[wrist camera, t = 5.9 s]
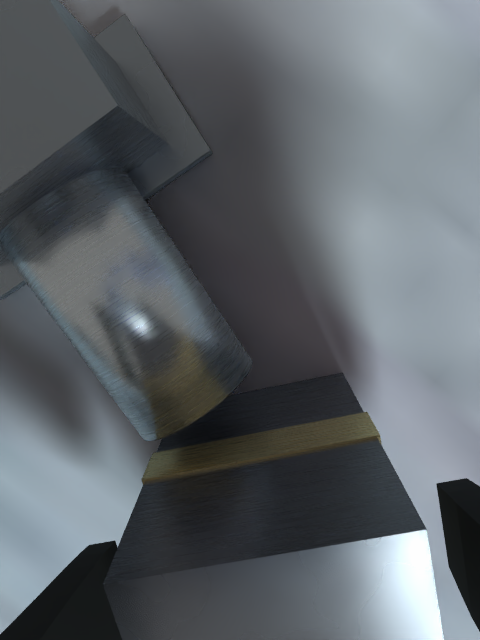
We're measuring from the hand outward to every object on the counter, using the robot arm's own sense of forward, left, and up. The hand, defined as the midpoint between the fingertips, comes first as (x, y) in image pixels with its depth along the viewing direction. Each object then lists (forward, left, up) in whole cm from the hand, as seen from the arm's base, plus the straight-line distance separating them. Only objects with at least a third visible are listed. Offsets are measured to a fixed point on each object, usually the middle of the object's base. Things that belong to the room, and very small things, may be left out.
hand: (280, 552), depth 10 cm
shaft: (+2, -7, -3) cm, 8 cm away
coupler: (0, 0, -3) cm, 3 cm away
